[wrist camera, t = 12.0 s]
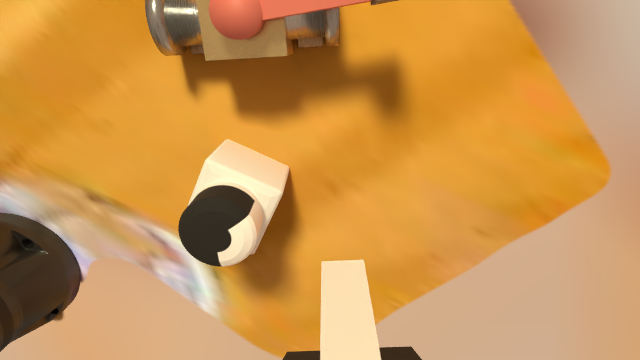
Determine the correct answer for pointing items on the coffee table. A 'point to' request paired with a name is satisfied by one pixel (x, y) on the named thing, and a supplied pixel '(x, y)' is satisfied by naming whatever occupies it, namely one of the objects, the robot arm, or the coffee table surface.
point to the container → (231, 204)
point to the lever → (265, 13)
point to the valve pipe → (198, 31)
